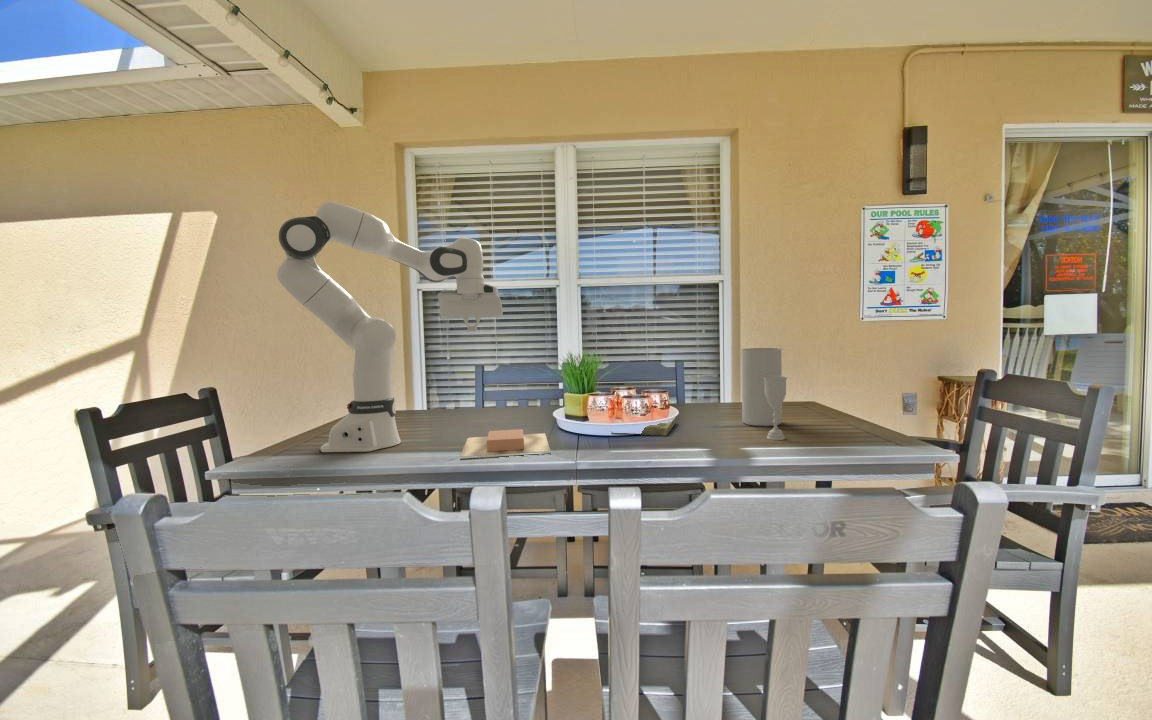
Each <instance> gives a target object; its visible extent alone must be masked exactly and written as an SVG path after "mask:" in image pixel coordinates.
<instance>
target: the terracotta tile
mask: <svg viewBox="0 0 1152 720" xmlns="http://www.w3.org/2000/svg"><path fill="white" fill-rule="evenodd" d="M523 435H524V429H522V428H521V429H504V430H503V429H500V430H490V431H488V435H487V437H488V438H487V451H505V450H522V449H524V436H523Z"/></svg>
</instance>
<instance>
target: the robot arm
mask: <svg viewBox="0 0 1152 720" xmlns="http://www.w3.org/2000/svg"><path fill="white" fill-rule="evenodd" d="M278 241H279V244H280V246H281V249H283V251H284V253H285V255H286V256H285V260H284V261H283V262H282V263H281V264H280V266H279V267H278V269H277V272H276V277H277V281H278V282H279V283H280V284H281V285H282V287H283V288H284V289H285V290H286V291H287V292H288V294H290V295H291V296H292V297H293V298H294V299H295V300H296V301H297V302H298V303H300V304H301V305H302V306H303V307H304V308H306V309H307V311H309V312H311V314H313V315H314V316H315V317H317V319H319V320H320V321H322V322H323V323H324V324H325V325H326V326H328V328H329V329H330V330H331V331H332V332H333V334H334V333H335V335H336V336H337V337H338V338H340V339H341V341H343V342H344V343H345V344H346V345H347V346H349V348H351V349H352V350H353V351H354V364H353V372H352V381H353V383H352V384H353V397H354V398H353V399H354V400H351V401H350V402H349V403H347V404H346V406H347V407H346V409H347V411H348V413H347V414H346V415H345V416H344V417H342V418H341V419H340V420H339V421H338V422H337V423H335V424H334V425H333V426H332V427H331V428H330V430H329V435H328V442H326V443H324V444H323V445H322V446H320V452H322V453H352V452H354V453H356V452H358V453H359V452H360V453H362V452H366V453H367V452H372V451H373V452H374V451H376V450H379V449H380V450H381V449H385V448H390V447H393V446H397V445H398V444H400V443H402V440H401V438H400V434H399V431H398V426H397V423H396V422H397V421H396V417H395V416H396V414H397V413H396V401H395V397H394V396H393V394H394V393H393V392H394V391H393V374H392V373H393V363H394V362H393V361H394V353H395V351H394V350H395V342H396V340H397V333H396V331H395V328H394V327H393V325H392V324H391V323H390V322H389V321H388V320H385V319H383V318H382V317H381V318H380V317H372V316H370V315H369V314H368V313H367V312H366V311H365V309H363V307H362V306H361V305H360V304H359V303H358V302H357V301H356V299H355V298H354V297H353V295H351V294H350V293H349V292H348V291H347V290H346V289H344V287H342V286H341V285H340V284H339V283H338V282H337V281H335V280H334V279H333V278H332V277H331V276H330V275H329V274H328V273H326V272H325V271H324V270H323V269H322V268H321V267H320V266H319V265H318V263H317V260H316V258H317V256H318V255H319V254H320V252H322V250H323V248H324V247H325V246H326V244H327V243H329V242H336V243H339V244H343V245H345V246H347V247H349V248H350V247H351V248H353V249H355V250H359V251H362V252H366V253H369V254H371V255H372V254H373V255H377V256H380V257H384V258H388V259H390V260H392V261H394V262H397V263H399V264H400V265H401V264H402V265H404V266H406V267H409V268H411V269H413V270H415V271H416V272H417V273H418V274H420V275H421V276H422V277H423V278H424V279H426V280H427V281H429V282H431V283H441V282H443V281H445V280H446V279H448V278H450V277H455V278H456V288H455V289H453V288H451V289H442V290H441V291H440V292H438V295H437V298H438V299H437V300H438V302H439V303H440V304H439V316H440V317H441V318H442V319H460V318H461V319H462V318H463V322H464V323H465V325H466V327H467V332H478V326H479V324H480V321H481V318H498V317H499V318H500V317H502V316H503V315H504V312H503V304H502V300H501V298H500V296H499V295H498V293H499V289H498V287H496V286H494V285H492V284H491V285H490V284H487V283H485V278H484V274H483V273H484V272H483V270H484V255H483V249H482V245H481V243H480V242H479V241H477V240H476V239H474V238H470V237H458V238H457V239H456V240H454V241H453V242H451V243H448V244H446V245H442V246H439V247H436V248H434V249H433V250H431V251H424V250H423V251H422V250H420V249H418V248H416V247H413V246H411V245H409V244H406V243H405V242H402V241H400V240H399V239H398V238H396V237H395V236H394V235H393V233H392V232H391V229H390V227H389V226H388V224H387V223H386V222H385V221H383V220H382V219H380V218H378V217H377V216H375V215H374V214H371V213H369V212H367V211H364V210H362V209H359V208H357V207H354V206H350V205H347V204H343V203H340V202H335V201H327V202H326V201H325V202H324V203H322V204H321V205H320V206H319V207H318V209H317V211H316V213H315V215H313V216H312V215H311V216H301V217H300V216H298V217H293V218H291V219H288V220H286V221H285V222H284V223H283V224H282V225H281V226H280V228H279V231H278ZM469 318H474V319H475V320H474V321H475V324H474V325H470V323H469V320H470V319H469Z"/></svg>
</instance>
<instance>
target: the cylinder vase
mask: <svg viewBox="0 0 1152 720" xmlns="http://www.w3.org/2000/svg"><path fill="white" fill-rule="evenodd" d="M782 370H783V369H782V348H779V347H754V348H752V347H751V348H741V415H742V416H741V417H742V419H741V420H742V422H743V424H745V425H748V426H754V427H774V423H773V422H772V421H773V420H774V416H773V414H774V409H773V408H772V407H770V405H769V403H768V401H767V398H766V395H765V380H764V378H763V376H769V375H780V376H783V375H782V373H783V372H782ZM777 413H778V417H777V420H778V421H779V422H778V424H777V426H780V425H781V424H782V422H783V404H782V405H781V407H780V408H778V409H777Z"/></svg>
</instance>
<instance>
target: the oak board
mask: <svg viewBox="0 0 1152 720" xmlns="http://www.w3.org/2000/svg"><path fill="white" fill-rule="evenodd" d="M523 436H524V449H522V450H505V451H487V438H488V436H475V437H473V436H472V437H467V439H466V441H465V444H464V446H463V448H462V451H461V453H460V454H459V455H460V456H459V457H460V458H459V460H460V461H471V460H473V461H474V460H487V459H488V460H489V459H500V458H499V457H505V458H510V457H509V456H521V457H525V456H524V455H537V456H540V455H539V454H540V453H541V454H551V448H550V446H549V441H548V439H547V435H546V433H529V434H528V433H526V434H525V433H523ZM542 452H544V453H542ZM545 452H546V453H545ZM529 453H530V454H529ZM511 454H514V455H511ZM494 455H495V456H494ZM496 455H497V456H496ZM478 456H479V457H478ZM480 456H481V457H480ZM463 457H466V458H463Z"/></svg>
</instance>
